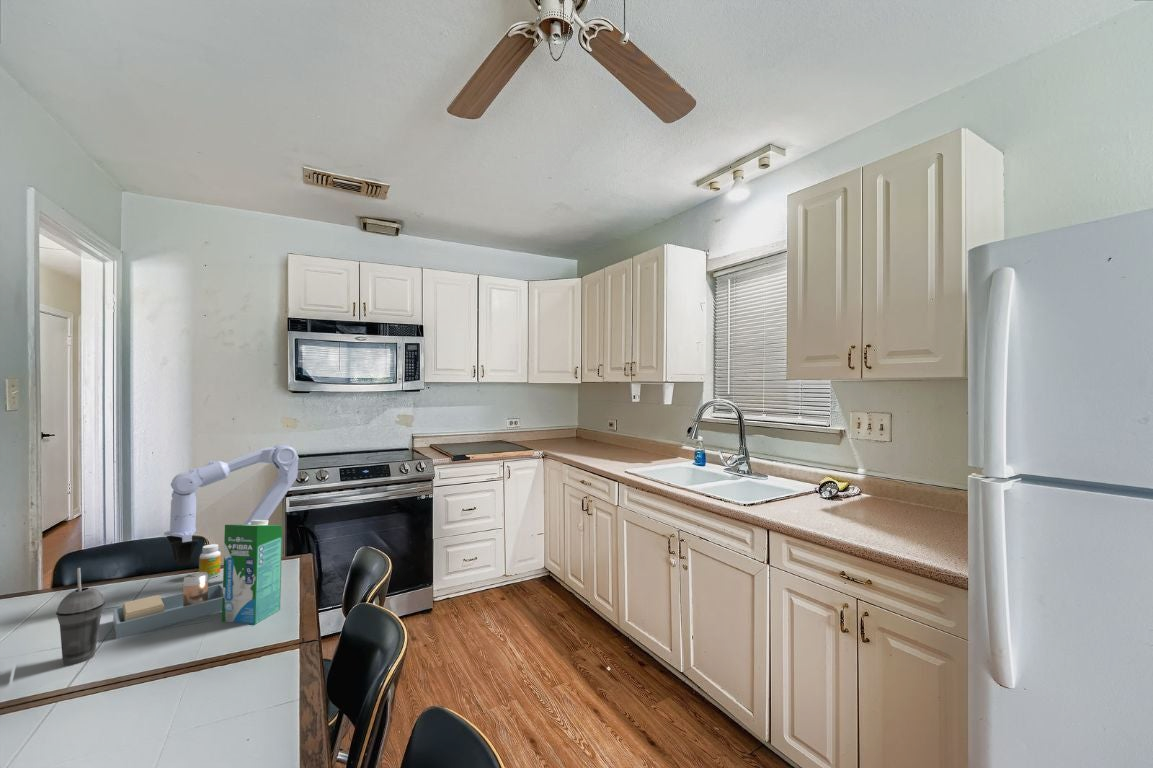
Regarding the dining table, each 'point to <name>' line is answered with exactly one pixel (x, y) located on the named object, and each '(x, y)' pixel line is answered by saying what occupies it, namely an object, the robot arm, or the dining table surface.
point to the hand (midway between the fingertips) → (181, 562)
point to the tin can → (195, 588)
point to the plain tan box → (142, 608)
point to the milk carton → (251, 571)
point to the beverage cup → (79, 623)
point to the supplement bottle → (210, 560)
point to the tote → (169, 613)
